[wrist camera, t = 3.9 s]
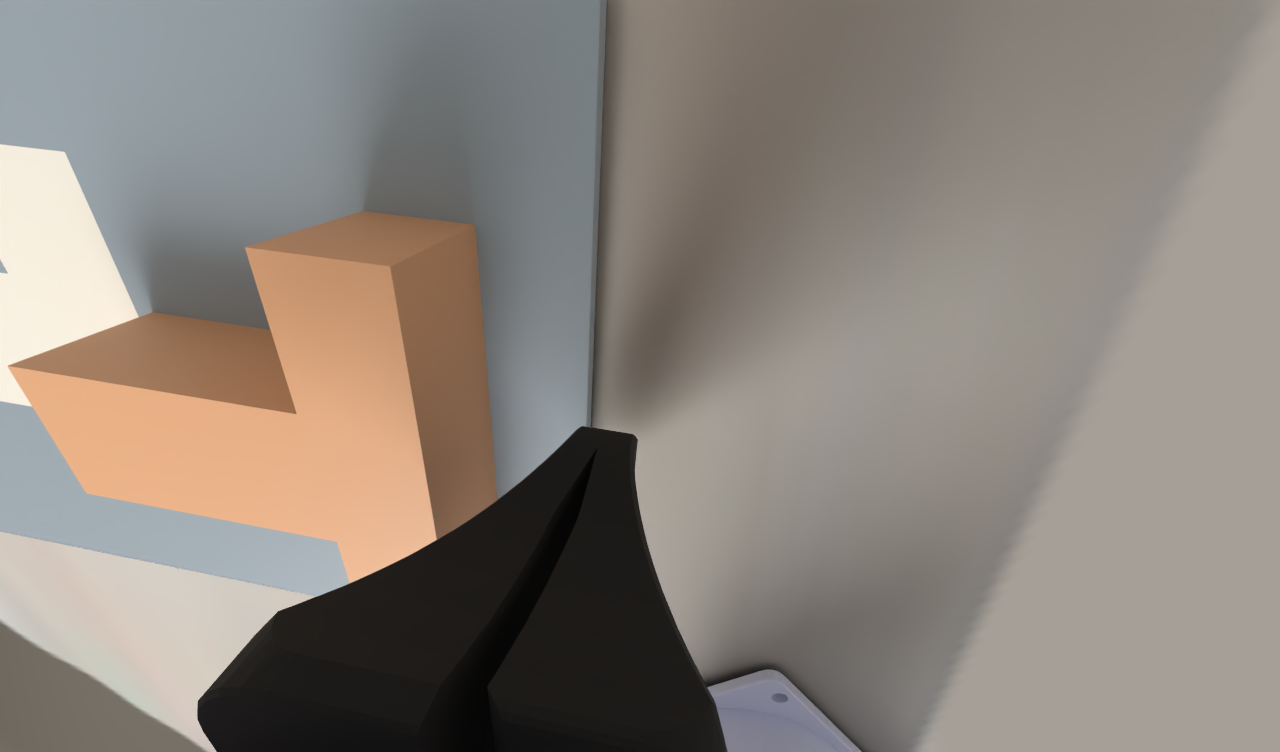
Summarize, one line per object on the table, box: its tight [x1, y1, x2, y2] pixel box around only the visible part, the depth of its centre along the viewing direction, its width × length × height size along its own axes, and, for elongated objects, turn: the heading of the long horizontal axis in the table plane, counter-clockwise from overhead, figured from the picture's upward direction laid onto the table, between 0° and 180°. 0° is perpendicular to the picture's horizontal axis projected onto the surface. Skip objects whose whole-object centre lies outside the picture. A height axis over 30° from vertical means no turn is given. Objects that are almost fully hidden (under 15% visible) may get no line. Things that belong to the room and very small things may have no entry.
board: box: [0, 0, 607, 596], centre depth 14 cm, size 26×18×1 cm
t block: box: [7, 211, 497, 583], centre depth 12 cm, size 9×10×3 cm
